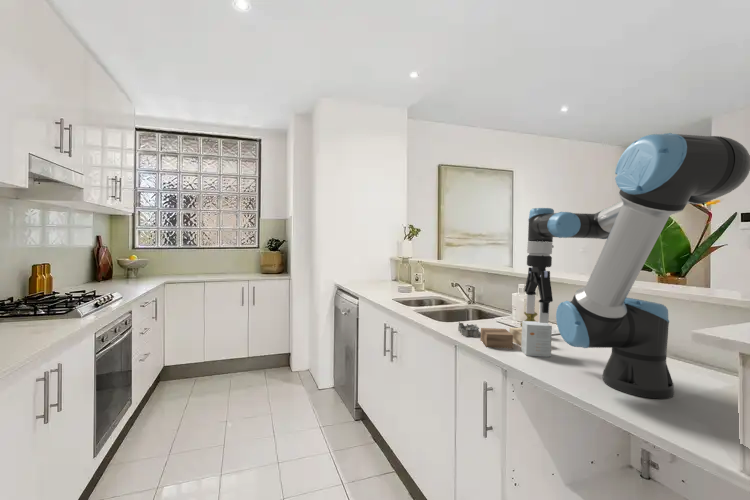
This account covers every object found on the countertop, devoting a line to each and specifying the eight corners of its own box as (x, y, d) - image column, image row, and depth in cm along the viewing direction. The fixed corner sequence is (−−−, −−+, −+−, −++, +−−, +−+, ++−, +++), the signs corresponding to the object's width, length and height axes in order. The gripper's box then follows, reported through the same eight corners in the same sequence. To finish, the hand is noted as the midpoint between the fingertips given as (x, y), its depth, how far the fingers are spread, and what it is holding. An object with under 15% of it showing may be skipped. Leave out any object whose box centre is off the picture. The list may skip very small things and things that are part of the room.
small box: (544, 352, 123) (546, 321, 123) (551, 357, 118) (552, 325, 117) (520, 350, 124) (521, 320, 124) (525, 356, 118) (527, 324, 118)
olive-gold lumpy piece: (517, 332, 150) (518, 308, 149) (535, 332, 150) (536, 308, 149) (524, 337, 142) (525, 311, 142) (543, 337, 142) (544, 312, 142)
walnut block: (512, 349, 126) (513, 335, 126) (486, 348, 127) (486, 334, 127) (504, 342, 135) (505, 328, 135) (480, 341, 136) (480, 327, 136)
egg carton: (457, 330, 152) (457, 320, 151) (475, 331, 151) (475, 321, 151) (460, 336, 141) (460, 326, 141) (480, 337, 140) (480, 327, 140)
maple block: (545, 347, 130) (546, 333, 130) (523, 347, 128) (523, 334, 128) (530, 340, 139) (530, 327, 139) (509, 340, 137) (509, 327, 137)
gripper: (566, 257, 107) (563, 327, 108) (538, 253, 132) (535, 310, 133) (540, 256, 108) (537, 326, 109) (517, 252, 133) (514, 309, 134)
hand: (536, 317), depth 121 cm, fingers open, 13 cm apart
